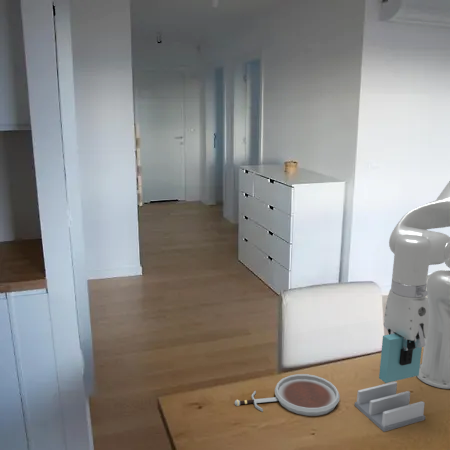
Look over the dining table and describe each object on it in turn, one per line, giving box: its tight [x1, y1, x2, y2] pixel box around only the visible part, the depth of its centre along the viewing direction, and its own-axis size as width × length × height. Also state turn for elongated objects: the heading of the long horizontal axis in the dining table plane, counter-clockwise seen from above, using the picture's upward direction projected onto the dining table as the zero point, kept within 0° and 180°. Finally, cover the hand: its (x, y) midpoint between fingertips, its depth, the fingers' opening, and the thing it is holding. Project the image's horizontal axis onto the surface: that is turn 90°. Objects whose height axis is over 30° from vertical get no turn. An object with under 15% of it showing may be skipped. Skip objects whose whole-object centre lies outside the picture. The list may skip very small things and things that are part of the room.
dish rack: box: [354, 381, 426, 433], centre depth 119 cm, size 13×11×4 cm
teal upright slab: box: [378, 333, 423, 384], centre depth 114 cm, size 10×2×11 cm, turn 112°
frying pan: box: [234, 373, 341, 417], centre depth 125 cm, size 17×3×28 cm
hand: (400, 360), depth 114 cm, fingers closed on teal upright slab, 2 cm apart
